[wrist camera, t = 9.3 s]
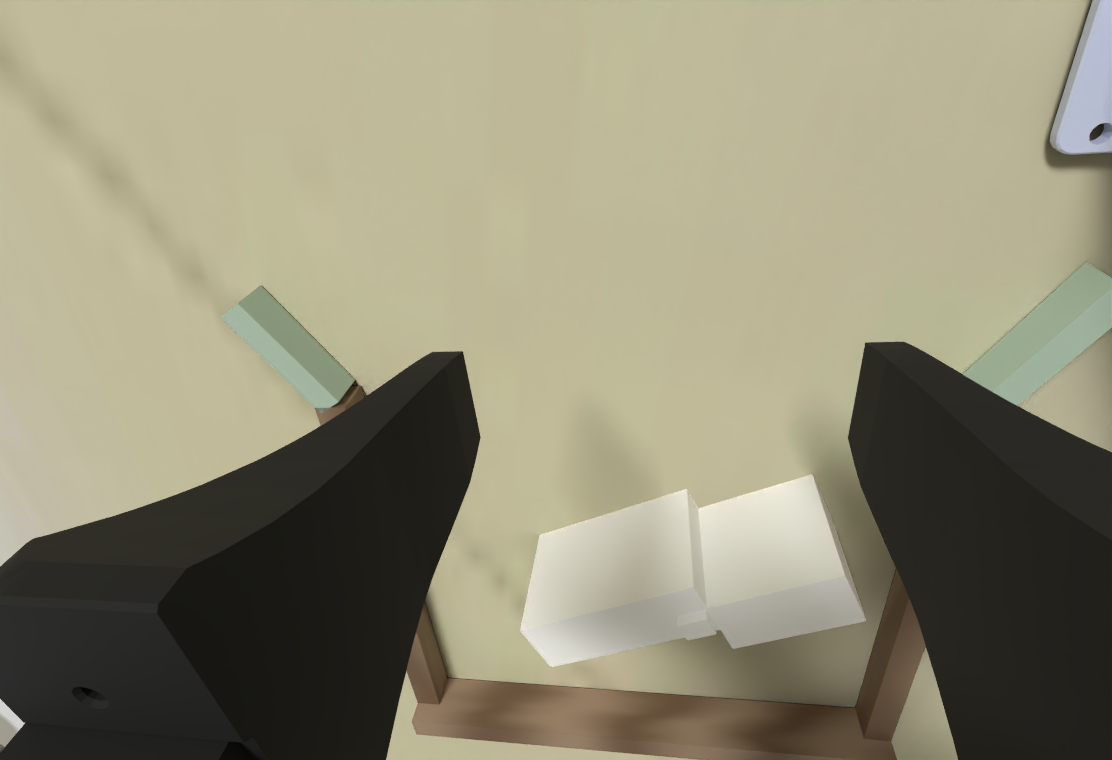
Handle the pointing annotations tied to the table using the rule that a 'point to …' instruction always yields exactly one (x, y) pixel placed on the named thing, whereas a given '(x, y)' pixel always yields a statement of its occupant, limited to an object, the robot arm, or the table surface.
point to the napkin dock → (675, 720)
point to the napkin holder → (690, 575)
